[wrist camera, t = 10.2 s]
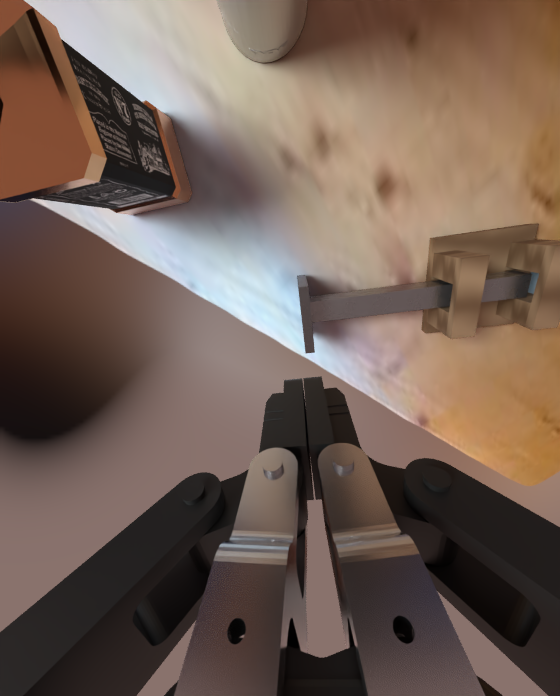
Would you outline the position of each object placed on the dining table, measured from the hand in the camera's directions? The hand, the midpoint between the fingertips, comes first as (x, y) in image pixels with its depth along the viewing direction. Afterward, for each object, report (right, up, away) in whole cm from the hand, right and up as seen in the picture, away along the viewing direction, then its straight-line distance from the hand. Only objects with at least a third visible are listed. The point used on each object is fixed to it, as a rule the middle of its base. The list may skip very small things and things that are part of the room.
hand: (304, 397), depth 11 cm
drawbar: (+17, +10, +29) cm, 35 cm away
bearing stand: (+28, +12, +29) cm, 42 cm away
